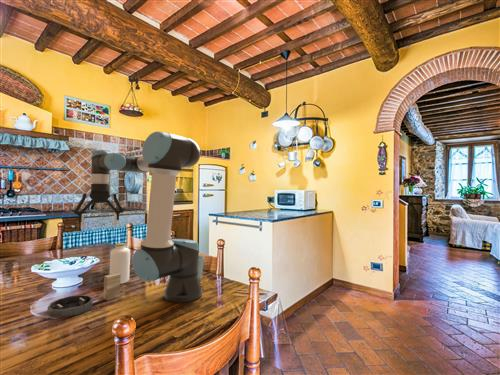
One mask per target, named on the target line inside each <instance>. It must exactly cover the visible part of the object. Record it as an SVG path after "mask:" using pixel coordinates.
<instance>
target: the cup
mask: <svg viewBox="0 0 500 375" xmlns="http://www.w3.org/2000/svg"><path fill="white" fill-rule="evenodd" d="M204 261H205V257H204V256H202V255H199V263H198V277H199V280H201V279H202V277H203V270H204Z"/></svg>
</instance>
